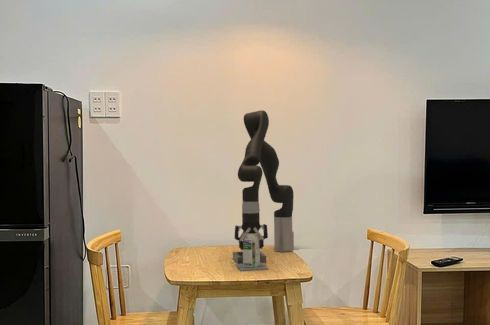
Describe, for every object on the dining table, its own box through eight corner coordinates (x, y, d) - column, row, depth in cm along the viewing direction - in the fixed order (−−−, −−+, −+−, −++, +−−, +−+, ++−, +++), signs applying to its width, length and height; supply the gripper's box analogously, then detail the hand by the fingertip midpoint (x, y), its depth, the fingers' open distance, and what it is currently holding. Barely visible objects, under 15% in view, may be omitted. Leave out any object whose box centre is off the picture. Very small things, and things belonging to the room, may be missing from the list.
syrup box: (242, 266, 211) (242, 233, 210) (248, 264, 216) (248, 231, 216) (254, 268, 208) (253, 234, 208) (260, 265, 213) (260, 232, 213)
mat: (261, 263, 219) (261, 262, 219) (268, 269, 207) (268, 268, 207) (235, 265, 216) (235, 264, 216) (240, 271, 205) (240, 270, 205)
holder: (259, 256, 233) (259, 250, 233) (266, 262, 221) (266, 255, 221) (232, 258, 231) (232, 252, 231) (237, 264, 218) (237, 257, 218)
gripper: (264, 210, 216) (265, 246, 217) (233, 211, 214) (233, 248, 214) (268, 211, 209) (269, 249, 209) (236, 213, 206) (236, 251, 206)
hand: (251, 248), depth 212 cm, fingers open, 8 cm apart
